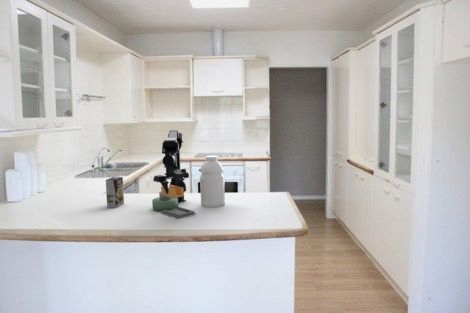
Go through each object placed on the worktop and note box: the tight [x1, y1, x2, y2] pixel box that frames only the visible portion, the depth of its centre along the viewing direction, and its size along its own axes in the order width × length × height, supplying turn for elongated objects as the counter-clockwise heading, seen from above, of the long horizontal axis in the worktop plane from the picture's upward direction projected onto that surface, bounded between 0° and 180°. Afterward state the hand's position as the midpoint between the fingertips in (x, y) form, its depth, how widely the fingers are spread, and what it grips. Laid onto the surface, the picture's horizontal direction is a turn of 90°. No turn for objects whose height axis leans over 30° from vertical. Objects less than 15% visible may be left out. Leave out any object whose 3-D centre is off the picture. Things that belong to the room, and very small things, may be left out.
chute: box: [160, 184, 185, 198], centre depth 203 cm, size 12×6×4 cm, turn 43°
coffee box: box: [105, 176, 125, 209], centre depth 223 cm, size 9×6×16 cm
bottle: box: [199, 155, 226, 208], centre depth 220 cm, size 14×14×28 cm
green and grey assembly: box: [151, 191, 196, 220], centre depth 210 cm, size 14×30×9 cm, turn 44°
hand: (172, 192), depth 203 cm, fingers closed on chute, 6 cm apart
